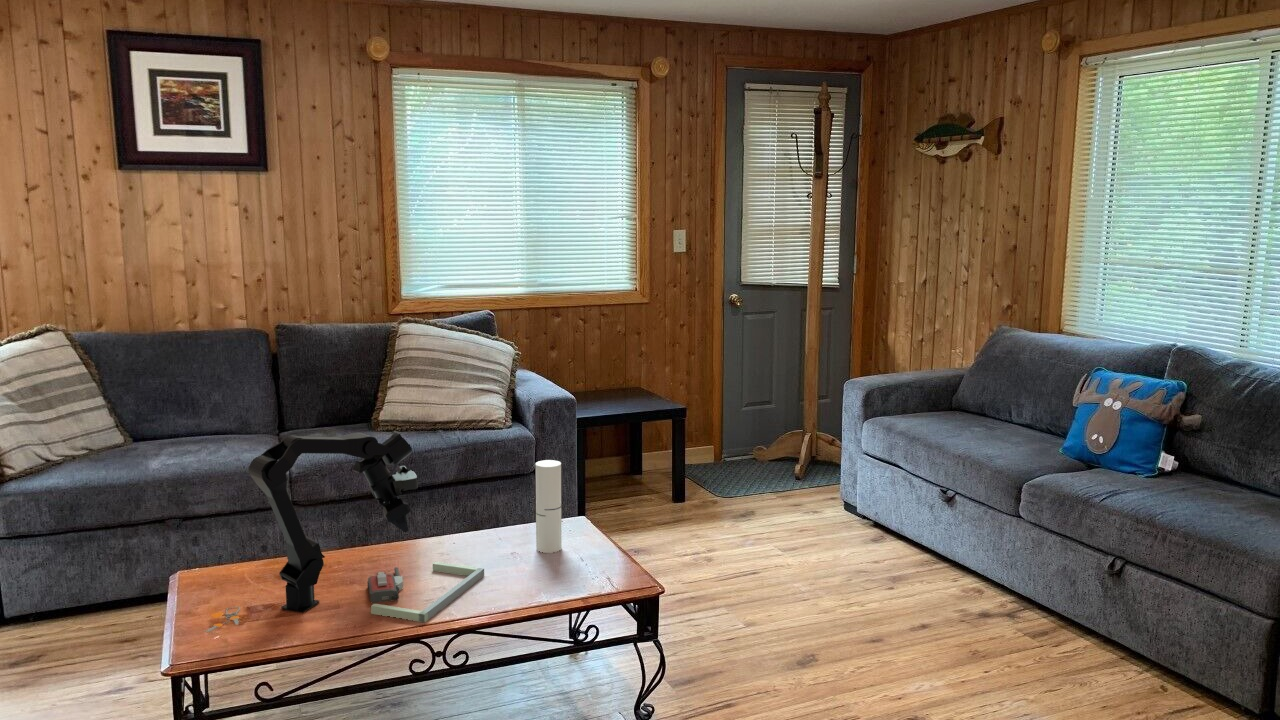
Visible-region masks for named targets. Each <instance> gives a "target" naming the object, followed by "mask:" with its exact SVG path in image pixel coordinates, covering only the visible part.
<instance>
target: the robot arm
mask: <svg viewBox="0 0 1280 720" xmlns="http://www.w3.org/2000/svg"><path fill="white" fill-rule="evenodd" d="M412 453H413V448H412V446H411V444H410V443H408V441H407V440H406V439H405V438H403V437H402V434H401V433H399V432H394V433H393V434H392V435H391V436H390V437H389V438H387V439H386V440H385V441H384V442H381V443H380V442H379V441H378V439H377V438H376V437H374V436H371V435H368V434H366V433H362V432H353V433H346V434H345V435H342V436H306V435H305V436H304V435H303V436H301V435H299V436H297V435H295V434H294V435H293V434H291V435H287V436H286V437H284V438H283V439H282V440H281V441H279V442H278V443H277V444H274V445H273V446H271V447H270V448H267V449H266V450H265V451H264V452H263V453H261V455H258V456H256V457H255V458H253V459H252V460H251V462H249V466H248V467H247V469H248V474H249V476H250V477H251V478H252V481H254V483H255V484H256V485H257V487H258V488H259V489H260V490H261V491H262V492H263V493H264V494H265V496H266V498H267V500H268V503H269V504H270V505H269V506H270V507H271V509H272V512H273V514H274V516H275V519H276V521H277V523H278V526H279V527H280V531H281V533H282V535H283V537H284V540H285V542H286V545H287V547H286V558H287V561H286V563H285V564H284V566H283V567H282V569H280V571H279V572H278V574H279V577H280V578H281V580H282V581H285V582H286V585H285V601H286V603H285V604H284V605H282V606H281V607H280V608H281V610H284V611H289V612H297V613H301V614H303V613H306V612H307V611H309V610H311V609H312V608H314V607H315V606H316V605H318V604H320V600H318V599H315V585H317V584H318V581H319V577H320V574H321V571H322V570H323V567H324V566H325V565H324V563H325V562H324V558H325V557H326V556H325V555H324V554H323V553H322V551H321V550H322V549H321V546H320V543H318V542H316V541H314V540H312V539H310V538H308V537H307V536H306V534H305V531H304V528H303V526H302V524H301V522H300V519H299V516H298V515H297V512H296V509H295V507H294V505H293V502H292V500H291V497H290V495H289V493H288V490H287V489H288V488H287V487H288V476H287V473H288V472H289V471H290V470H291V469H292V468H293V467H294V465H295V463H296V462H297V460H298V458H299V457H300V456H301V455H302V454H313V455H314V454H320V455H321V454H322V455H323V454H327V455H328V454H329V455H330V454H333V455H334V454H341V455H342V454H343V455H348V456H352V457H356V458H361V460H355V462H354V465H353V467H352V471H353V472H355V473H358V474H362V473H363V475H364V476H365V479H366V480H367V482H368V485H369V489H370V492H371V493H372V496H373V497H374V498H375V501H377V502H378V504H379V505H381V506H383V509H382V513H383V516H384V517H385V518H386V520H387V522H388V523H391V524H392V525H393V526H395V527H397V528H398V529H399V530H401V531H402V532H403V533H406V532H409V526H408V521H407V519H408V518H407V515H408V514H409V513H410V512H411V511H412V510H411V507H410V505H409V503H408V502H407V500H406V499H405V498H401V497H400V498H398V496H401V495H403V493H402V491H403V492H404V491H409V490H417V489H418V488H419V484H418V475H417V474H416V473H415V471H414V470H413V471H412V469H409V470H408V468H407V467H406V466H405V465H401V466H398V469H397V471H396V472H395V474H392V472H391V471H390V470H389V469H388V466H393V467H395V466H396V465H398V464H399V463H400V462H401V461H403V460H405V459H406V458H407V457H408V456H409V455H411V454H412Z"/></svg>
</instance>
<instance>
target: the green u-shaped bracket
mask: <svg viewBox="0 0 1280 720" xmlns="http://www.w3.org/2000/svg"><path fill="white" fill-rule="evenodd" d="M432 571H433V572H437V573H445V574H453V575H460V576H466V577H465V578H464V579H462V580H460V581H459V583H457V584H456V585H454V586H453V587H452V588H451V589H450V590H448V591H447V592H445V593H444V594H443V595H441V596H440V597H438V598H437V599H436V600H435V601H434V602H432V603H431V604H430V605H428V606H427V607H426V608H424V609H423V610H418V609H412V608H404V607H398V606H392V605H386V604H380V603H372V605H371V606H370V614H371V615H376V616H381V615H382V616H383V617H387V616H390V617H389V618H393V617H396V618H395V619H399V618H402V619H401V620H406V619H408V621H412V620H413V622H418V623H424V624H425V623H426V622H427V621H429V620H430V619H432V617H433V618H434V616H435V615H437V614H438V613H439V612H440V611H441V610H442V609H444V608H446V607H447V606H448V605H450V603H451V602H453V601H454V600H456V599H457V598H458V597H459V596H460V595H462V594H463V593H465V592H466V591H467V590H468V589H469V588H470V587H472V586H473V585H475V584H476V583H477V582H479V581H480V580H481V579H482V578H483V577H485V568H483V567H475V566H470V565H461V564H454V563H448V562H447V563H446V562H442V561H441V562H440V561H435V562H433V563H432Z"/></svg>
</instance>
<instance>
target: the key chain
mask: <svg viewBox="0 0 1280 720" xmlns="http://www.w3.org/2000/svg"><path fill="white" fill-rule="evenodd" d="M232 608H233V609H237V610H236V612H231V613H228V610H231V609H232ZM240 610H241V607H240V606H235V607H234V606H233V607H227V608H225V613H223V612H215V613H212V614H211V615H210V617H211V618H215V619H216V618H221V617H222V615H223V616H225V619H226V620H227V621H225V622H222V623H215V624H213V625H212V627H211V628H210V627H209V629H207V630H205V632H206V633H209V632H211V631H213V630H215V629H217V628H222V627H223V625H224V624H227V623H229V622H231V621H233V622H234V625H236V626H237V625H239V624H240V621H239V619H240V616H238V613H239V612H240Z"/></svg>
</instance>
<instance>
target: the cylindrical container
mask: <svg viewBox="0 0 1280 720" xmlns="http://www.w3.org/2000/svg"><path fill="white" fill-rule="evenodd" d="M535 536H536V537H535V543H536V544H535V548H536V549H537V550H538V551H537V550H536V551H537V552H539V551H540V552H539V553H542V552H543V553H542V554H553V552H555V553H558V552H560V551H561V550H562V462H561V461H559V460H553V459H545V460H539V461H537V462H535ZM559 550H560V551H559ZM557 551H558V552H557Z"/></svg>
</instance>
